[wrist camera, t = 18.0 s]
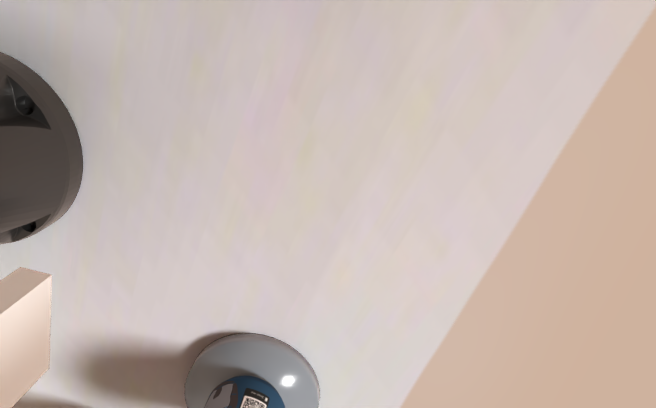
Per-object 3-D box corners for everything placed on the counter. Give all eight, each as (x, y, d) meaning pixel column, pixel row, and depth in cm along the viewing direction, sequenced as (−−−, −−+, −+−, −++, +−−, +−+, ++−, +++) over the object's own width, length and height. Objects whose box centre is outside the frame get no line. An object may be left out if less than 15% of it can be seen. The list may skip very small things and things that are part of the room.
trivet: (184, 424, 48) (178, 436, 47) (197, 320, 44) (191, 330, 42) (307, 452, 48) (304, 465, 46) (331, 350, 44) (330, 361, 42)
